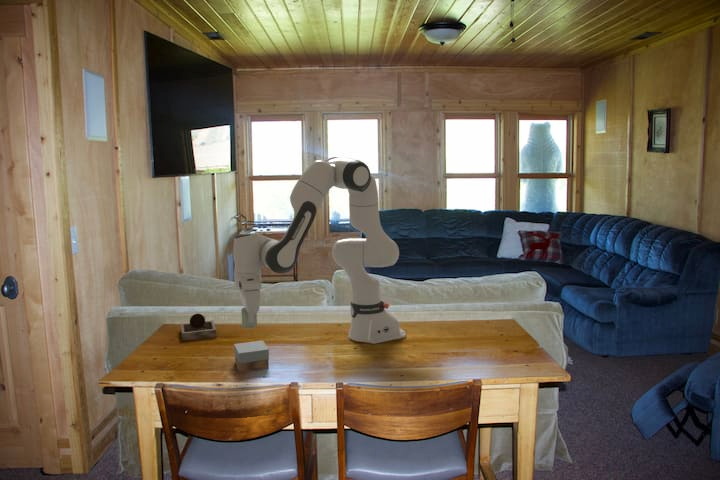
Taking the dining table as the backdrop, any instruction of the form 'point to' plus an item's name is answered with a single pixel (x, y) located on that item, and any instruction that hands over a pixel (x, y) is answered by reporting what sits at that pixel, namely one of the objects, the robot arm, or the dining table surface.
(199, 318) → the compass
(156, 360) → the dining table surface
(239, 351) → the grey slab
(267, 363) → the walnut slab
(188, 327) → the wooden frame
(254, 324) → the sage green rounded oval
